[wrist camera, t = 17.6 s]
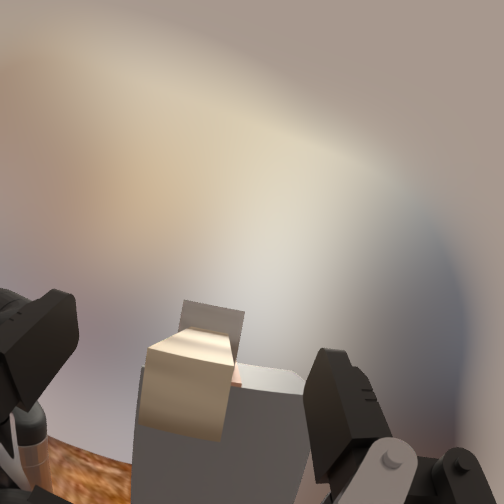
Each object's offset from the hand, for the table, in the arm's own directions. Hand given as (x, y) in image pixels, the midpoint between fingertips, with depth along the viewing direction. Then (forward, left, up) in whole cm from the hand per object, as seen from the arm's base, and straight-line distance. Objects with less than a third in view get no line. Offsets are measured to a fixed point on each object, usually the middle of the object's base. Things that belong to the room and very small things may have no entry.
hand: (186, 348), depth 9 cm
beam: (+5, +9, -3) cm, 11 cm away
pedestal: (+10, +13, -36) cm, 39 cm away
